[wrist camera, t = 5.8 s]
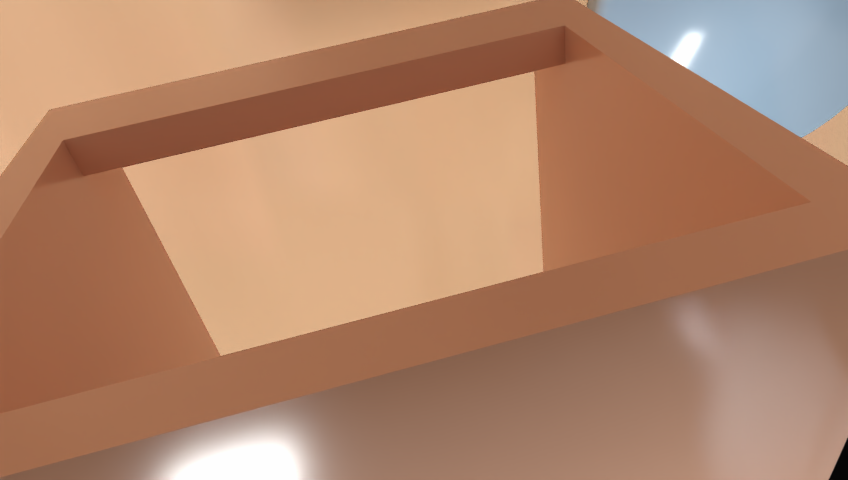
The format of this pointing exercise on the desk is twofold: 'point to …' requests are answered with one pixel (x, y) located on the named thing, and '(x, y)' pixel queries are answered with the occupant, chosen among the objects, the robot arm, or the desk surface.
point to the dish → (752, 50)
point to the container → (455, 315)
